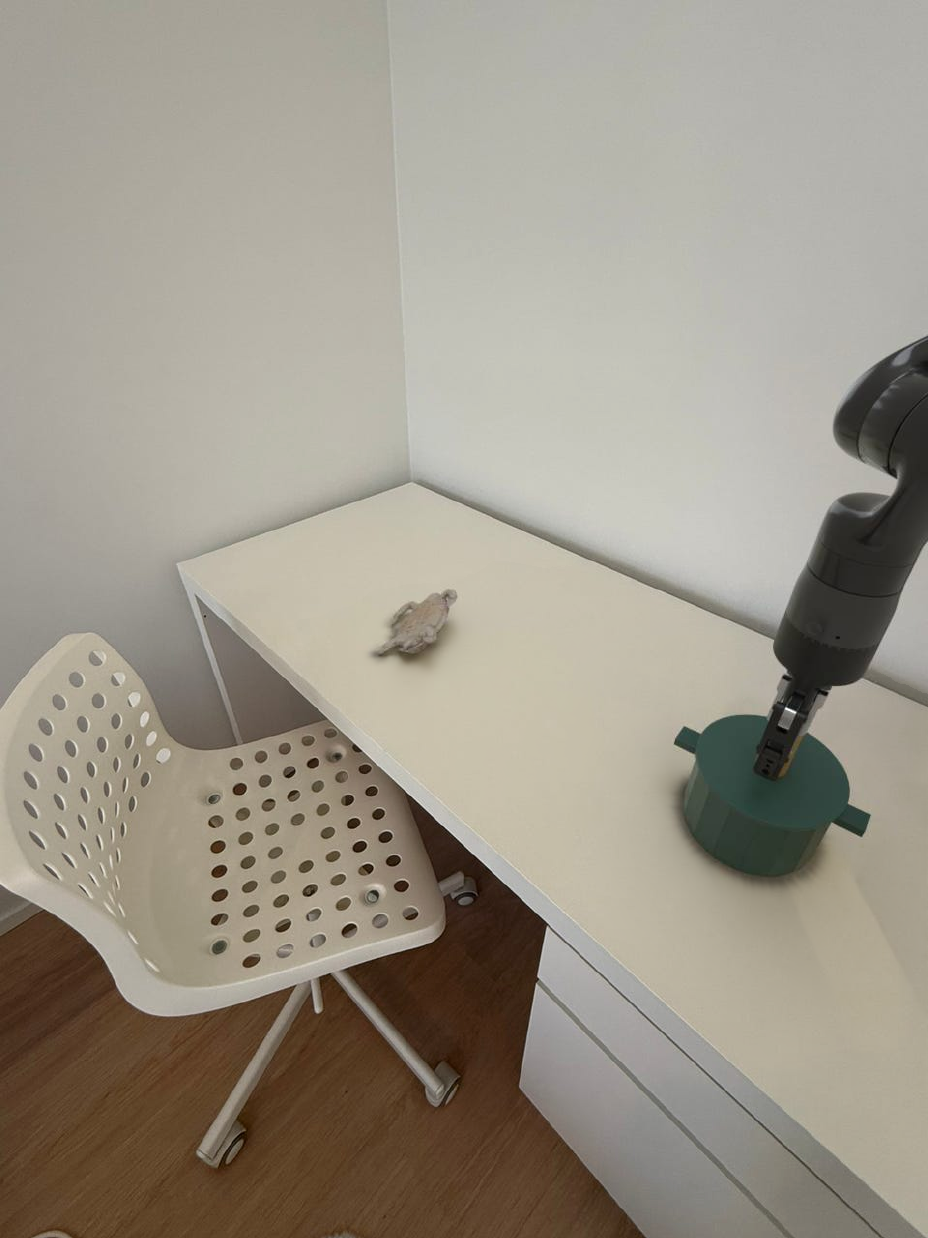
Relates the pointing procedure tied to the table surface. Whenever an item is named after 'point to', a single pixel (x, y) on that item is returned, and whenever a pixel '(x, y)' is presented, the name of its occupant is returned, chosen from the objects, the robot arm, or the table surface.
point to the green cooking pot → (751, 829)
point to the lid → (793, 802)
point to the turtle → (421, 622)
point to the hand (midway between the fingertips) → (778, 747)
